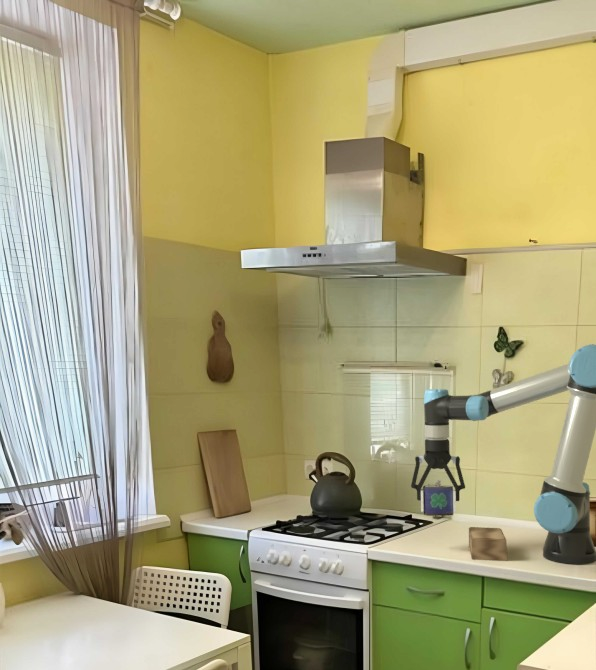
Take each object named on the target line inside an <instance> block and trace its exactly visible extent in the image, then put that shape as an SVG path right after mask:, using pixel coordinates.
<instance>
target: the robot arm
mask: <svg viewBox="0 0 596 670" xmlns="http://www.w3.org/2000/svg"><path fill="white" fill-rule="evenodd" d="M568 391H569V393H570V397H569V400H568V406H567V409H566V413H565V418H564V420H563V425H562V429H561V433H560V437H559V441H558V445H557V449H556V454H555V459H554V461H553V466H552V470H551V473H550V475H548V476H546V477H544V479H543V483H542V485H541V486H542V487H541V492H540V494H539V496H538V498H536V501H534V506H533V514H534V518H535V520H536V522H537V523H538V524H539V526H541V527H542V529H544V530H545V531H547V535H546V539H545V542H544V543H543V547H542V556H543V558H545V559H546V560H548V561H549V560H550V561H551V562H552V561H553V562H557V563H562V564H569V565H570V564H571V565H585V564H586V565H587V564H588V565H589V564H593V563H595V562H596V548H595V545H594V541H593V539H592V536H591V524H590V523H591V520H590V519H591V518H590V517H591V516H590V515H591V514H590V509H591V508H590V504H591V503H590V502H591V501H590V500H591V499H590V497H591V491H590V485H589V484H588V483H587V482H583V481H584V477H585V473H586V469H587V465H588V461H589V459H590V455H591V454H590V453H591V449H592V446H593V442H594V437H595V434H596V344H594V343H593V344H587V345H586V344H585V345H584V346H581V347H580V348H578V349H577V350H575V352H574V353H572V355H571V357H570V359H569V361H568V363H567V364H563V365H561V366H558V367H555V368H552V369H550V370H546V371H543V372H540V373H537V374H534V375H532V376H529V377H525V378H523V379H520V380H517V381H513V382H511V383H508V384H506V385H502V386H499V387H496V388H494V389H491V390H487V391H485V392H482V393H478V394H469V395H450V394H449V390H448V389H445V388H433V389H432V388H431V389H426V390H425V391H424V395H423V396H424V398H423V400H424V402H423V406H424V407H423V410H424V412H423V413H424V415H423V416H424V438H425V440H424V455H422V456H421V455H420V456H419V455H416V456H415V457H414V461H415V466H414V471H413V475H412V480H411V484H410V487H411V489H414V490H416V499H417V501H420V511H421V513H424V508H423V507H424V504H423V502H424V500H423V486H424V483H426V480H427V478H428V476H429V474H430V472H431V470H436V469H438V470H444V471H445V473H446V474H447V476H448V479H449V480H450V482H451V483H452V486H453V514H454V513H457V502H460V491H461V490H465V488H466V485H465V481H464V477H463V473H462V469H461V465H460V462H461V458H460V456H458V455H457V456H453V455H451V452H450V439H449V437H450V421H455V420H456V421H471V422H472V421H473V422H477V421H485V420H486V419H487V418H489V417H491V416H493V415H495V414H496V415H497V414H498V413H502V412H505V411H508V410H511V409H515V408H517V407H521V406H524V405H527V404H530V403H533V402H535V401H536V402H537V401H539V400H542V399H546V398H548V397H552V396H555V395H559V394H562V393H565V392H568ZM423 460H424V461H425V463H426V464H427V466H426V468H425V470H424V472H423V474H422V476H421V478H420V479H419V482H418V484H417V479H418V474H419V470H420V464H422V463H423ZM450 461H452V463H453V464H454V465H455V468H456V472H457V476H458V480H459V483H460V484H458V482H457V481H456V479H455V477H454V475H453V474H452V472H451V470H450V467H449V466H448V464H449V463H450Z"/></svg>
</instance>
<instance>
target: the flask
mask: <svg viewBox="0 0 596 670" xmlns="http://www.w3.org/2000/svg"><path fill="white" fill-rule="evenodd" d="M435 481H436V482H435V483H434V484H433V483H431V484H430V483H428V484H427V485H423V486H422V489H423V505H424V507H423V508H424V512H423V515H424V516H430V517H431V516H432V517H433V516H434V517H435V516H436V517H437V516H441V517H442V516H445V517H446V516H454V512H453V490H454V486H453V485H441V484H442V483H441V482H442V481H441V480H439V479H436V480H435Z"/></svg>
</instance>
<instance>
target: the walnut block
mask: <svg viewBox="0 0 596 670" xmlns="http://www.w3.org/2000/svg"><path fill="white" fill-rule="evenodd" d="M468 548H469V552H470V553H469V554H470V557H471V558H470V559H471V560H477V561H478V560H481V561H497V562H498V561H499V562H500V561H501V562H502V561H503V562H506V561H507V560H508V559H507V554H508V553H507V549H508V548H507V538H506V536H505V535H504V531H503V530H502V528H499V527H484V526H483V527H482V526H481V527H479V526H477V527H476V526H470V527H468Z"/></svg>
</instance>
